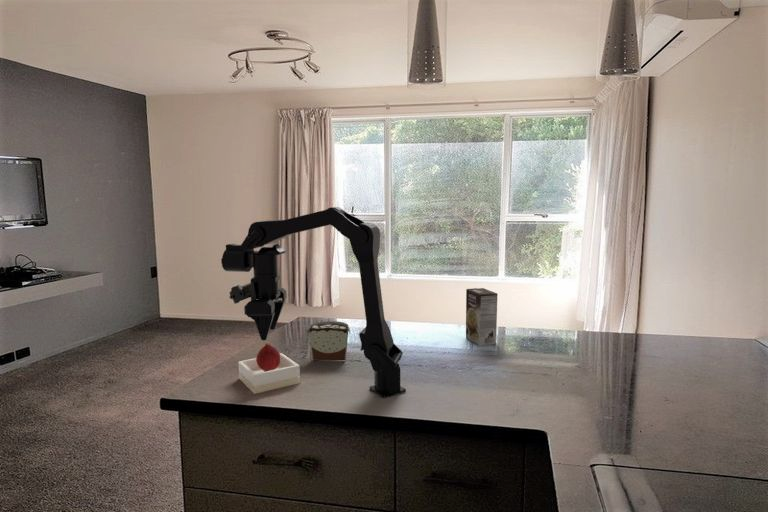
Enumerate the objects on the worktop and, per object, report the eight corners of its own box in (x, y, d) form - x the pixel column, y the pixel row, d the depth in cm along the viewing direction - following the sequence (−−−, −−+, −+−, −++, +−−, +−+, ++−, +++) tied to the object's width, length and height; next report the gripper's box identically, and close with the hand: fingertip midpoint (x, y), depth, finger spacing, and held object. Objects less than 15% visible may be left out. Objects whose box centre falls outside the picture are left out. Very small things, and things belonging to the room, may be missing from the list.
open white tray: (300, 383, 120) (299, 365, 120) (254, 393, 114) (253, 375, 114) (282, 369, 130) (281, 353, 130) (239, 378, 124) (238, 361, 123)
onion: (285, 370, 124) (283, 339, 123) (273, 378, 118) (272, 346, 117) (264, 368, 125) (263, 338, 124) (252, 376, 120) (251, 344, 119)
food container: (354, 354, 142) (353, 321, 141) (350, 361, 136) (350, 326, 134) (312, 353, 143) (311, 320, 142) (307, 360, 137) (306, 325, 136)
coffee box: (464, 337, 157) (465, 288, 155) (482, 336, 159) (483, 287, 157) (478, 346, 148) (479, 294, 146) (497, 344, 150) (498, 292, 148)
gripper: (243, 267, 128) (246, 325, 130) (220, 279, 109) (223, 346, 111) (285, 266, 128) (287, 324, 130) (269, 278, 109) (272, 346, 111)
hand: (268, 334), depth 121 cm, fingers open, 9 cm apart
